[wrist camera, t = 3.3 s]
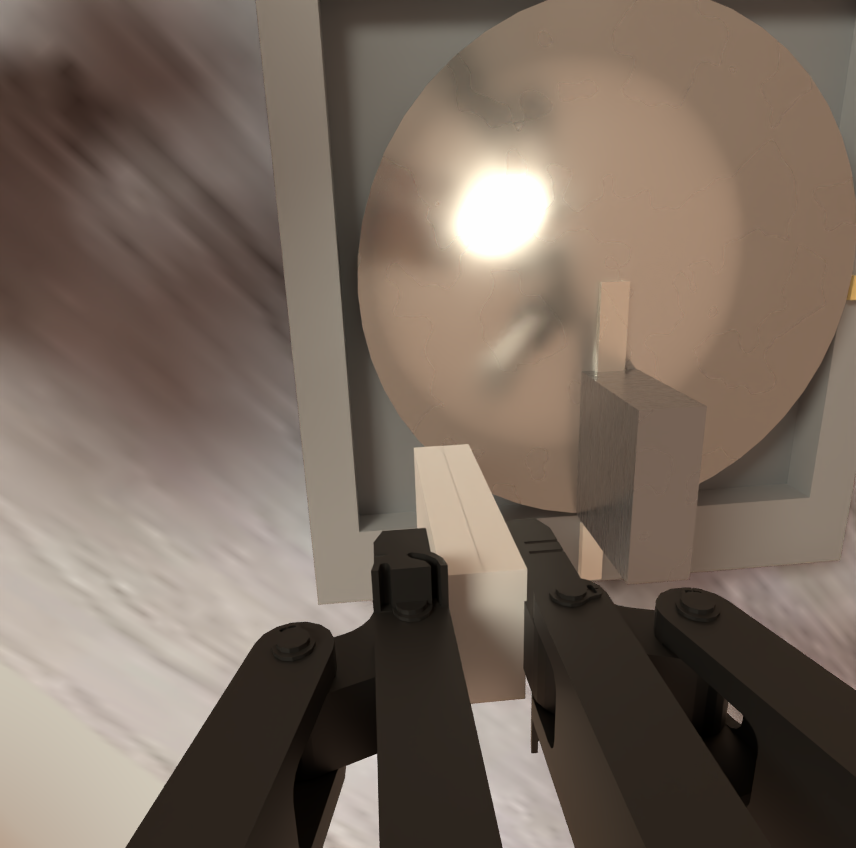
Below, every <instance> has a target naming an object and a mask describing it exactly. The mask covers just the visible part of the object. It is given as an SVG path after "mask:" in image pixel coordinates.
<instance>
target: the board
mask: <svg viewBox="0 0 856 848" xmlns="http://www.w3.org/2000/svg"><path fill="white" fill-rule="evenodd" d="M255 1H256V10H257V20H258V29H259V39H260V49H261V58H262V68H263V78H264V87H265V97H266V106H267V116H268V126H269V135H270V145H271V154H272V164H273V174H274V183H275V193H276V202H277V212H278V222H279V231H280V241H281V250H282V260H283V270H284V279H285V289H286V298H287V308H288V318H289V327H290V337H291V346H292V356H293V366H294V375H295V385H296V394H297V404H298V414H299V423H300V433H301V442H302V452H303V462H304V471H305V481H306V490H307V500H308V510H309V519H310V529H311V539H312V548H313V558H314V567H315V577H316V587H317V596H318V605H322V604H334V603H346V602H357V601H369V600H373V594H372V579H371V570H372V567H373V564H374V544H373V542H374V541H375V540H376V539H377V537H378V536H379V535H380V533H381V532H382V531H388V530H402V529H415V528H417V512H416V489H415V466H414V448H416V447H425V446H424V445H423V444H422V443H421V442H420V441H419V440H418V439H417V438H416V437H415V435H414V434H413V433H412V431H411V430H410V429H409V428H408V426H407V425H406V424H405V423H404V421H403V420H402V419H401V417H400V416H399V414H398V413H397V411H396V409H395V408H394V406H393V404H392V403H391V401H390V399H389V397H388V396H387V394H386V392H385V391H384V389H383V386H382V384H381V382H380V379H379V377H378V374H377V372H376V370H375V367H374V365H373V362H372V360H371V357H370V353H369V349H368V346H367V342H366V338H365V335H364V331H363V327H362V320H361V313H360V305H359V298H358V251H359V243H360V235H361V227H362V220H363V216H364V212H365V208H366V205H367V201H368V197H369V193H370V189H371V185H372V183H373V180H374V177H375V175H376V172H377V170H378V167H379V165H380V162H381V160H382V157H383V155H384V152H385V150H386V148H387V146H388V144H389V142H390V141H391V139H392V137H393V135H394V133H395V132H396V130H397V128H398V126H399V124H400V123H401V121H402V119H403V117H404V115H405V114H406V113H407V111H408V110H409V109H410V107H411V106H412V105H413V103H414V102H415V101H416V99H417V98H418V96H419V95H420V94H421V92H422V91H423V90H424V88H425V87H426V86H427V84H428V83H429V82H430V81H431V80H432V79H433V78H434V77H435V76H436V75H437V74H438V73H439V72H440V71H441V70H442V69H443V68H444V67H445V66H446V64H447V63H448V62H449V61H450V60H451V59H452V58H453V57H454V56H455V55H457V54H458V53H459V52H460V51H462V50H463V49H464V48H465V47H467V46H468V45H469V44H470V43H472V42H473V41H474V40H475V39H477V38H478V37H479V36H480V35H482V34H483V33H484V32H486V31H487V30H489V29H491V28H492V27H494V26H496V25H497V24H499V23H501V22H503V21H504V20H506V19H508V18H509V17H511V16H513V15H514V14H516V13H518V12H520V11H522V10H525V9H527V8H530V7H532V6H534V5H537V4H539V3H542V2H544V1H547V0H255ZM711 1H714V2H716V3H719V4H721V5H724V6H726V7H729V8H731V9H733V10H735V11H736V12H738V13H739V14H741V15H743V16H744V17H746V18H748V19H749V20H751V21H753V22H754V23H756V24H757V25H759V26H761V27H762V28H763V29H764V30H766V31H767V32H768V33H769V34H770V35H771V36H773V37H774V38H775V39H776V40H777V41H778V42H780V43H781V44H782V45H783V46H784V47H785V48H787V49H788V50H789V51H790V53H791V54H792V55H793V56H794V57H795V59H796V60H797V61H798V62H799V63H800V64H801V66H802V67H803V68H804V69H805V70H806V71H807V73H808V74H809V75H810V76H811V78H812V79H813V81H814V83H815V84H816V86H817V88H818V89H819V91H820V92H821V94H822V96H823V97H824V99H825V100H826V102H827V104H828V105H829V108H830V110H831V112H832V115H833V117H834V119H835V121H836V124H837V126H838V128H839V131H840V133H841V135H842V138H843V142H844V145H845V149H846V152H847V156H848V159H849V163H850V167H851V171H852V178H853V185H854V192H855V199H856V0H711ZM855 476H856V246H855V256H854V266H853V272H852V277H851V281H850V286H849V290H848V295H847V299H846V303H845V306H844V309H843V312H842V315H841V318H840V321H839V323H838V326H837V329H836V332H835V335H834V337H833V339H832V341H831V343H830V345H829V347H828V349H827V352H826V354H825V356H824V358H823V360H822V362H821V364H820V366H819V367H818V369H817V371H816V372H815V374H814V375H813V377H812V379H811V380H810V382H809V384H808V385H807V387H806V389H805V390H804V392H803V393H802V394H801V396H800V397H799V398H798V399H797V401H796V402H795V403H794V405H793V406H792V407H791V408H790V410H789V411H788V412H787V414H786V415H785V416H784V417H783V418H782V419H781V420H780V421H779V423H778V424H777V425H776V426H775V427H774V428H773V429H772V430H771V431H770V432H769V433H768V434H767V435H766V436H765V437H764V438H763V439H762V440H761V441H760V442H759V443H757V444H756V445H755V446H754V447H753V448H751V449H750V450H749V451H748V452H747V453H746V454H744V455H743V456H742V457H741V458H740V459H738V460H737V461H735V462H734V463H732V464H731V465H729V466H728V467H726V468H725V469H723V470H722V471H720V472H719V473H717V474H716V475H714V476H713V477H711V478H709V479H707V480H705V481H703V482H701V483H700V484H699V490H698V500H697V510H696V519H695V529H694V539H693V549H692V559H691V569H690V573H697V572H709V571H721V570H733V569H744V568H756V567H768V566H779V565H791V564H803V563H815V562H826V561H838V560H840V558H841V553H842V547H843V542H844V536H845V531H846V525H847V520H848V514H849V509H850V503H851V498H852V492H853V487H854V481H855ZM492 495H493V497H494V499H495V501H496V504H497V506H498V508H499V510H500V512H501V514H502V516H503V519H504V520H515V519H529V518H536V519H537V520H539V521H540V522H542V523H544V524H545V525H547V526H548V527H550V528H551V530H552V532H553V533H554V535H555V537H556V538H557V542H559V543H560V545H561V546H562V548H563V551H565V553H566V555H567V556H568V558H569V560H570V561H571V563H572V565H573V566H574V568H575V569H576V571H577V573H578V574H579V576H580V578H582V579H586V580H589V581H591V582H592V581H604V580H615V579H623V578H622V577H621V575H620V574H619V573H618V571H617V570H616V569H615V567H614V566H613V564H612V563H611V562H610V560H609V559H608V558H607V556H606V555H605V553H604V552H603V551H602V549H601V548H600V547H599V545H598V544H597V542H596V541H595V540H594V538H593V537H592V536H591V534H590V533H589V531H588V530H587V529H586V527H585V526H584V525H583V523H582V522H581V520H580V519H579V518H578V516H577V515H576V513H569V512H560V511H551V510H543V509H539V508H535V507H531V506H526V505H522V504H518V503H515V502H512V501H510V500H507V499H504V498H502V497H499V496H497V495H494V494H492Z"/></svg>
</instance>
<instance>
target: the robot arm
mask: <svg viewBox="0 0 856 848" xmlns="http://www.w3.org/2000/svg"><path fill="white" fill-rule="evenodd" d="M414 466H415V489H416V512H417V528H415V529H402V530H388V531H382V532H381V533H380V535H379V536H378V537H377V539H376V540H375V541H374V542H373V544H374V564H373V567H372V570H371V579H372V594H373V608H374V612H373V614H372V616H371V617H370V619H369V620H368V621H367V622H366V623H365V624H363V625H362V626H360V627H359V628H357V629H355V630H354V631H351V632H348V633H346V634H343V635H340V636H337V637H333V636H332V634H331V632H330V630H328V629H327V628H325V627H323V626H322V625H320V624H315V623H310V622H296V623H289V624H286V625H282V626H279V627H276V628H274V629H272V630H271V631H269V632H267V633H265V634H264V635H263V636H262V637H261V638H260V639H259V640H258V641H257V642H256V643H255V644H254V646H253V647H252V649H251V651H250V652H249V654H248V655H247V657H246V658H245V660H244V662H243V663H242V665H241V666H240V668H239V670H238V671H237V673H236V674H235V676H234V677H233V679H232V681H231V682H230V684H229V685H228V687H227V688H226V690H225V692H224V693H223V695H222V696H221V698H220V699H219V701H218V703H217V704H216V706H215V707H214V709H213V710H212V712H211V714H210V715H209V717H208V718H207V720H206V722H205V723H204V725H203V726H202V728H201V729H200V731H199V733H198V734H197V736H196V737H195V739H194V740H193V742H192V744H191V745H190V747H189V748H188V750H187V751H186V753H185V755H184V756H183V758H182V759H181V761H180V762H179V764H178V766H177V767H176V769H175V770H174V772H173V774H172V775H171V777H170V778H169V780H168V781H167V783H166V785H165V786H164V788H163V789H162V791H161V792H160V794H159V796H158V797H157V799H156V800H155V802H154V803H153V805H152V807H151V808H150V810H149V811H148V813H147V815H146V816H145V818H144V819H143V821H142V822H141V824H140V826H139V827H138V829H137V830H136V832H135V833H134V835H133V837H132V838H131V840H130V842H129V843H128V845H127V846H126V848H323V845H324V841H325V838H326V835H327V832H328V829H329V826H330V823H331V820H332V816H333V813H334V810H335V807H336V804H337V801H338V798H339V795H340V792H341V788H342V785H343V782H344V779H345V772H346V766H347V765H349V764H352V763H354V762H357V761H359V760H362V759H364V758H367V757H370V756H372V755H375V754H377V760H378V800H379V841H380V848H503V847H502V843H501V838H500V834H499V829H498V825H497V820H496V816H495V811H494V807H493V802H492V798H491V793H490V789H489V784H488V780H487V775H486V771H485V766H484V762H483V757H482V753H481V748H480V744H479V739H478V735H477V730H476V726H475V721H474V717H473V712H472V708H471V704H473V703H484V702H494V701H504V700H515V699H525V679H526V677H527V680H528V683H529V686H530V689H531V691H532V708H531V753H538V741H540V744H541V747H542V750H543V753H544V756H545V759H546V762H547V765H548V768H549V771H550V774H551V777H552V780H553V783H554V786H555V789H556V792H557V795H558V798H559V801H560V804H561V807H562V810H563V813H564V816H565V819H566V822H567V825H568V828H569V831H570V834H571V837H572V840H573V843H574V846H575V848H856V690H854V689H853V688H851V687H850V686H849V685H847V684H846V683H844V682H843V681H841V680H840V679H839V678H837V677H836V676H834V675H833V674H832V673H830V672H829V671H827V670H826V669H824V668H823V667H822V666H820V665H819V664H817V663H816V662H814V661H813V660H812V659H810V658H809V657H807V656H806V655H804V654H803V653H802V652H800V651H799V650H797V649H796V648H795V647H793V646H792V645H790V644H789V643H787V642H786V641H785V640H783V639H782V638H780V637H779V636H777V635H776V634H775V633H773V632H772V631H770V630H769V629H767V628H766V627H765V626H763V625H762V624H760V623H759V622H757V621H756V620H755V619H753V618H752V617H750V616H749V615H748V614H746V613H745V612H743V611H742V610H740V609H739V608H738V607H736V606H735V605H733V604H732V603H730V602H729V601H727V600H726V599H724V598H722V597H720V596H718V595H716V594H714V593H711V592H707V591H704V590H702V589H697V588H676V589H670V590H668V591H665V592H663V593H661V594H660V595H659V597H658V598H657V600H656V607H655V610H646V609H637V608H629V607H624V606H618V605H615V604H614V603H613V602H612V600H611V599H610V597H609V595H608V594H607V593H606V592H605V591H604V590H603V589H602V588H601V587H600V586H599V585H597V584H595V583H593V582H591V581H589V580H586V579H582V578H580V576H579V574H578V573H577V571H576V569H575V568H574V566H573V565H572V563H571V561H570V560H569V558H568V556H567V555H566V553H565V551H563V548H562V546H561V545H560V543H559V542H557V538H556V537H555V535H554V533H553V532H552V530H551V528H550V527H548V526H547V525H545V524H544V523H542V522H540V521H539V520H537V519H536V518H529V519H515V520H504V519H503V516H502V514H501V512H500V510H499V508H498V506H497V504H496V501H495V499H494V497H493V495H492V493H491V491H490V489H489V487H488V484H487V482H486V480H485V478H484V476H483V474H482V472H481V469H480V467H479V465H478V463H477V461H476V459H475V457H474V455H473V452H472V450H471V448H470V446H469V444H463V445H447V446H431V447H416V448H414ZM728 702H729V703H730V704H731V705H733V706H734V707H735V708H736V709H737V710H738V711H739V712H740V713H742V715H743V721H742V724H740V723H738V722H737V721H735V720H734V719H733V718H732V717H731V716H730V715H729V714H728V713H727V708H728Z"/></svg>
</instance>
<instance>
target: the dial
mask: <svg viewBox="0 0 856 848" xmlns="http://www.w3.org/2000/svg"><path fill="white" fill-rule="evenodd" d="M855 246H856V199H855V192H854V185H853V178H852V171H851V167H850V163H849V159H848V156H847V152H846V149H845V145H844V142H843V138H842V135H841V133H840V131H839V128H838V126H837V124H836V121H835V119H834V117H833V115H832V112H831V110H830V108H829V105H828V104H827V102H826V100H825V99H824V97H823V96H822V94H821V92H820V91H819V89H818V88H817V86H816V84H815V83H814V81H813V79H812V78H811V76H810V75H809V74H808V73H807V71H806V70H805V69H804V68H803V67H802V66H801V64H800V63H799V62H798V61H797V60H796V59H795V57H794V56H793V55H792V54H791V53H790V51H789V50H788V49H787V48H785V47H784V46H783V45H782V44H781V43H780V42H778V41H777V40H776V39H775V38H774V37H773V36H771V35H770V34H769V33H768V32H767V31H766V30H764V29H763V28H762V27H761V26H759V25H757V24H756V23H754V22H753V21H751V20H749V19H748V18H746V17H744V16H743V15H741V14H739V13H738V12H736V11H735V10H733V9H731V8H729V7H726V6H724V5H721V4H719V3H716V2H714V1H711V0H547V1H544V2H542V3H539V4H537V5H534V6H532V7H530V8H527V9H525V10H522V11H520V12H518V13H516V14H514V15H513V16H511V17H509V18H508V19H506V20H504V21H503V22H501V23H499V24H497V25H496V26H494V27H492V28H491V29H489V30H487V31H486V32H484V33H483V34H482V35H480V36H479V37H478V38H477V39H475V40H474V41H473V42H472V43H470V44H469V45H468V46H467V47H465V48H464V49H463V50H462V51H460V52H459V53H458V54H457V55H455V56H454V57H453V58H452V59H451V60H450V61H449V62H448V63H447V64H446V66H445V67H444V68H443V69H442V70H441V71H440V72H439V73H438V74H437V75H436V76H435V77H434V78H433V79H432V80H431V81H430V82H429V83H428V84H427V86H426V87H425V88H424V90H423V91H422V92H421V94H420V95H419V96H418V98H417V99H416V101H415V102H414V103H413V105H412V106H411V107H410V109H409V110H408V111H407V113H406V114H405V115H404V117H403V119H402V121H401V123H400V124H399V126H398V128H397V130H396V132H395V133H394V135H393V137H392V139H391V141H390V142H389V144H388V146H387V148H386V150H385V152H384V155H383V157H382V160H381V162H380V165H379V167H378V170H377V172H376V175H375V177H374V180H373V183H372V185H371V189H370V193H369V197H368V201H367V205H366V208H365V212H364V216H363V220H362V227H361V235H360V243H359V251H358V298H359V305H360V313H361V320H362V327H363V331H364V335H365V338H366V342H367V346H368V349H369V353H370V357H371V360H372V362H373V365H374V367H375V370H376V372H377V374H378V377H379V379H380V382H381V384H382V386H383V389H384V391H385V392H386V394H387V396H388V397H389V399H390V401H391V403H392V404H393V406H394V408H395V409H396V411H397V413H398V414H399V416H400V417H401V419H402V420H403V421H404V423H405V424H406V425H407V426H408V428H409V429H410V430H411V431H412V433H413V434H414V435H415V437H416V438H417V439H418V440H419V441H420V442H421V443H422V444H423V445H424V446H425V447H431V446H447V445H463V444H469V446H470V448H471V450H472V452H473V455H474V457H475V459H476V461H477V463H478V465H479V467H480V469H481V472H482V474H483V476H484V478H485V480H486V482H487V484H488V487H489V489H490V491H491V493H492V494H494V495H497V496H499V497H502V498H504V499H507V500H510V501H512V502H515V503H518V504H522V505H526V506H531V507H535V508H539V509H543V510H551V511H560V512H569V513H576V515H577V516H578V518H579V519H580V520H581V522H582V523H583V525H584V526H585V527H586V529H587V530H588V531H589V533H590V534H591V536H592V537H593V538H594V540H595V541H596V542H597V544H598V545H599V547H600V548H601V549H602V551H603V552H604V553H605V555H606V556H607V558H608V559H609V560H610V562H611V563H612V564H613V566H614V567H615V569H616V570H617V571H618V573H619V574H620V575H621V577H622V578H623V580H624V581H625V582H626V584H627V585H630V584H642V583H653V582H665V581H676V580H688V579H690V569H691V559H692V549H693V539H694V529H695V519H696V510H697V500H698V490H699V484H700V483H701V482H703V481H705V480H707V479H709V478H711V477H713V476H714V475H716V474H717V473H719V472H720V471H722V470H723V469H725V468H726V467H728V466H729V465H731V464H732V463H734V462H735V461H737V460H738V459H740V458H741V457H742V456H743V455H744V454H746V453H747V452H748V451H749V450H750V449H751V448H753V447H754V446H755V445H756V444H757V443H759V442H760V441H761V440H762V439H763V438H764V437H765V436H766V435H767V434H768V433H769V432H770V431H771V430H772V429H773V428H774V427H775V426H776V425H777V424H778V423H779V421H780V420H781V419H782V418H783V417H784V416H785V415H786V414H787V412H788V411H789V410H790V408H791V407H792V406H793V405H794V403H795V402H796V401H797V399H798V398H799V397H800V396H801V394H802V393H803V392H804V390H805V389H806V387H807V385H808V384H809V382H810V380H811V379H812V377H813V375H814V374H815V372H816V371H817V369H818V367H819V366H820V364H821V362H822V360H823V358H824V356H825V354H826V352H827V349H828V347H829V345H830V343H831V341H832V339H833V337H834V335H835V332H836V329H837V326H838V323H839V321H840V318H841V315H842V312H843V309H844V306H845V303H846V299H847V295H848V290H849V286H850V281H851V277H852V272H853V266H854V256H855Z"/></svg>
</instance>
